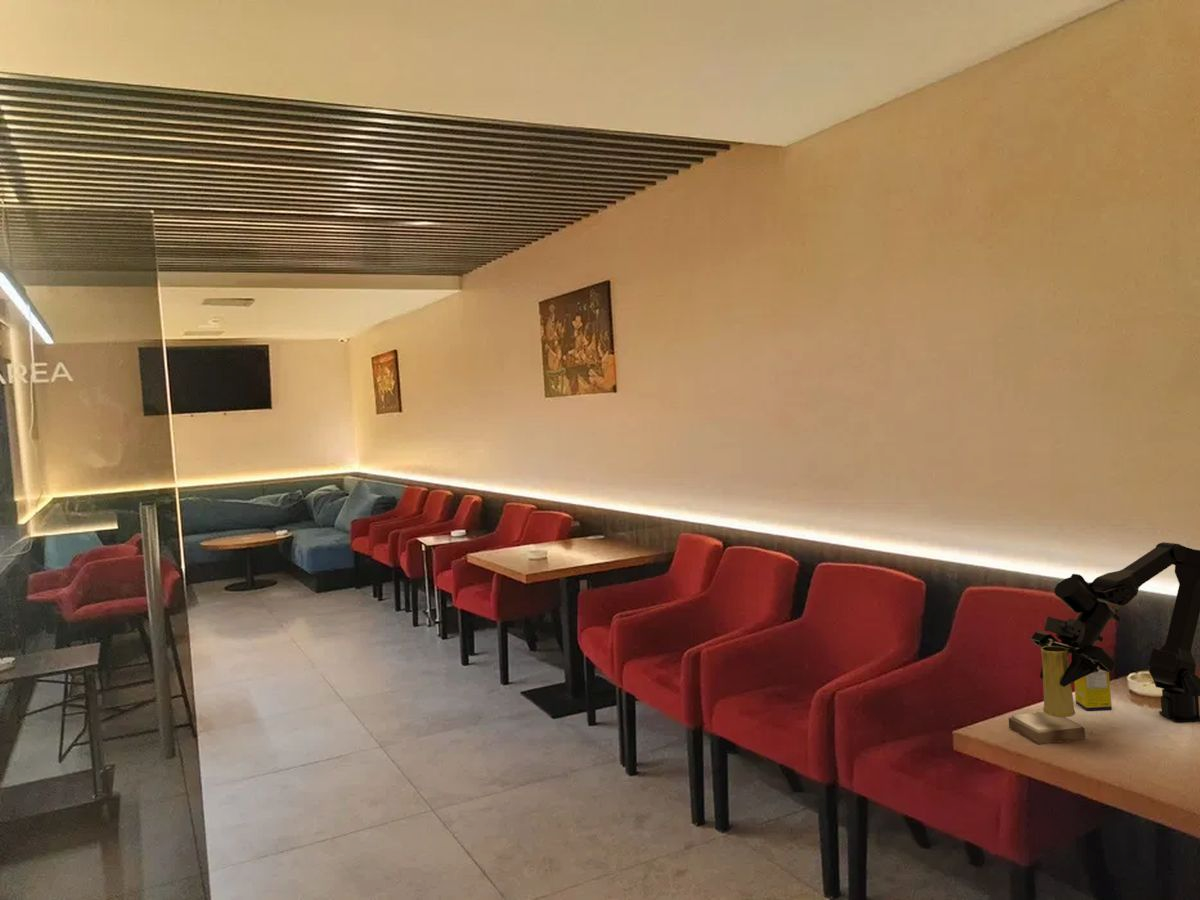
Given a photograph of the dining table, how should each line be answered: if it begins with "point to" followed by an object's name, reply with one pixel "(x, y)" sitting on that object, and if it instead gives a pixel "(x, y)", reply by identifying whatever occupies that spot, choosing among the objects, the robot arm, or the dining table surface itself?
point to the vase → (1056, 682)
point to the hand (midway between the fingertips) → (1051, 681)
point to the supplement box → (1094, 691)
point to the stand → (1046, 727)
